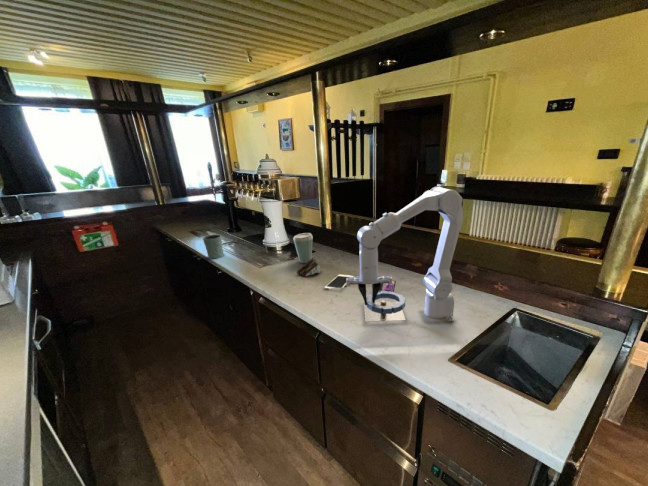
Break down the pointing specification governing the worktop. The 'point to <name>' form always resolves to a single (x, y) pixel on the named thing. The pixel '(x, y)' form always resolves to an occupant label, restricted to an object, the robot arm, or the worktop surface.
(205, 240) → the grey green cup
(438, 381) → the worktop surface
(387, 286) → the purple printed box
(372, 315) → the platform
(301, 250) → the disposable coffee cup
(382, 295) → the ring
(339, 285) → the cell phone
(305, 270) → the chocolate cake
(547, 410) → the worktop surface
